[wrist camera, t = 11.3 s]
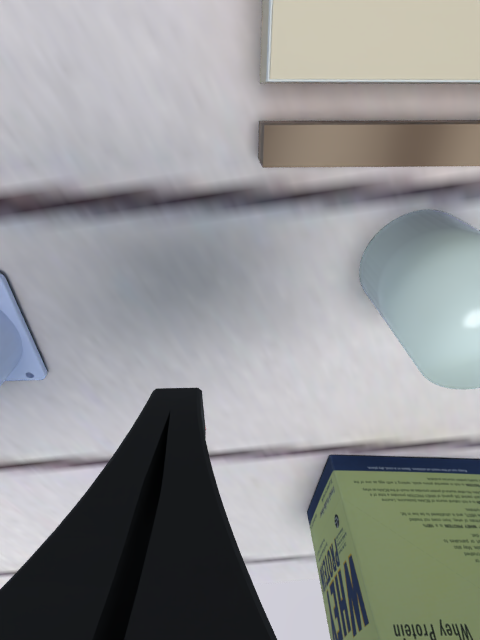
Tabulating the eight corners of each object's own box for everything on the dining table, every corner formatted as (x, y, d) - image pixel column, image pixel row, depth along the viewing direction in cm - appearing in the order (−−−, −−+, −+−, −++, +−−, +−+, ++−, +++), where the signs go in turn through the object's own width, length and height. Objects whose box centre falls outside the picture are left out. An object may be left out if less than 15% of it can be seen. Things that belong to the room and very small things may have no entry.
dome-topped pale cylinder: (350, 307, 21) (398, 390, 15) (371, 210, 17) (444, 267, 11) (445, 306, 21) (529, 388, 15) (484, 209, 17) (613, 265, 12)
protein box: (325, 453, 29) (402, 737, 16) (492, 457, 30) (689, 726, 17) (303, 512, 35) (347, 755, 22) (444, 514, 36) (564, 747, 23)
